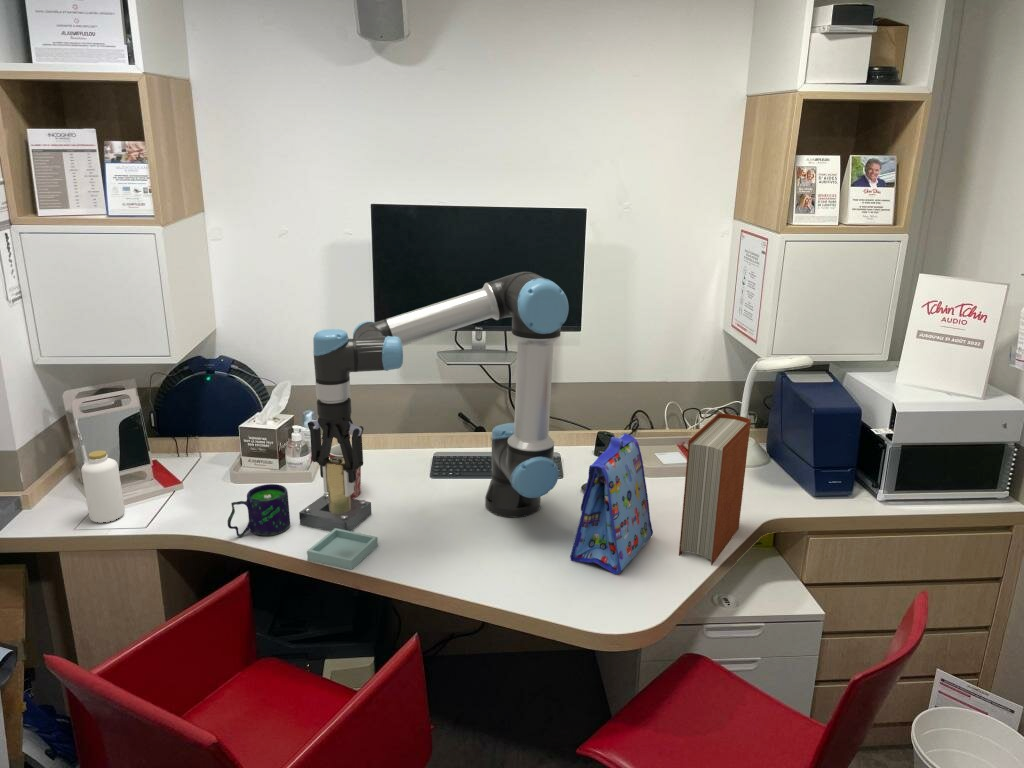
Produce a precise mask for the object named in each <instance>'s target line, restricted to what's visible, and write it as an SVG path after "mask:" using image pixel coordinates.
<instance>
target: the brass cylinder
mask: <svg viewBox="0 0 1024 768" xmlns="http://www.w3.org/2000/svg"><path fill="white" fill-rule="evenodd" d="M326 467H327V483H328V492H327V493H328V499H329V511H330V512H332V513H336V514H340V513H345V512H348V511H349V510H350V509H351V503H350V496H348V497H346V496H345V486H344V470H345V469H347V468H346V465H345V461H344V458H342V457H333V458H332V459H330V458H329V460H328V461H327V462H326Z"/></svg>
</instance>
